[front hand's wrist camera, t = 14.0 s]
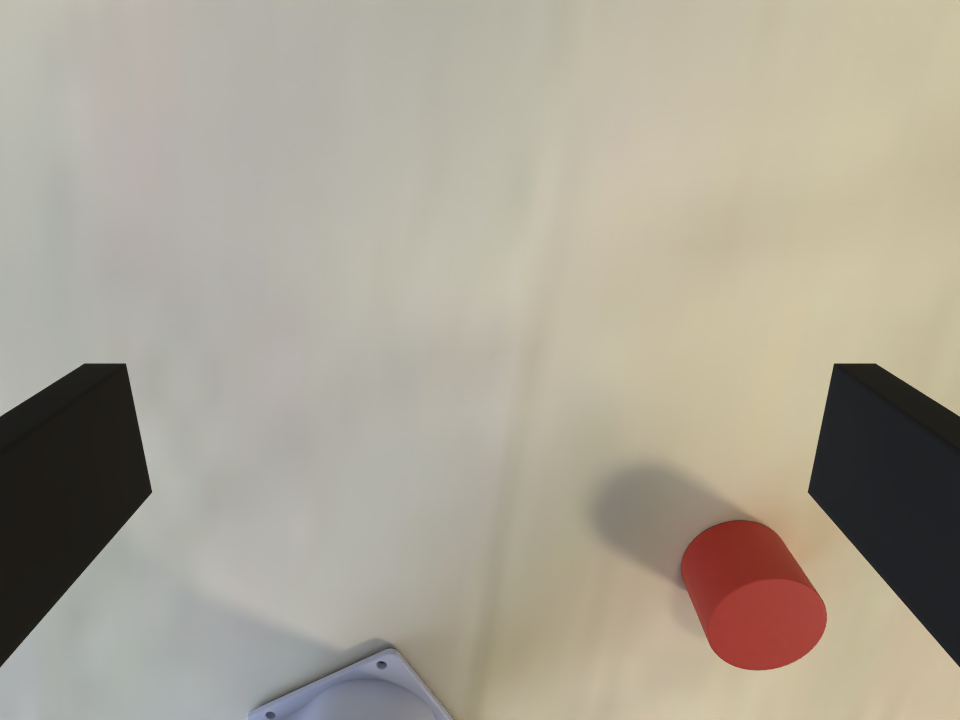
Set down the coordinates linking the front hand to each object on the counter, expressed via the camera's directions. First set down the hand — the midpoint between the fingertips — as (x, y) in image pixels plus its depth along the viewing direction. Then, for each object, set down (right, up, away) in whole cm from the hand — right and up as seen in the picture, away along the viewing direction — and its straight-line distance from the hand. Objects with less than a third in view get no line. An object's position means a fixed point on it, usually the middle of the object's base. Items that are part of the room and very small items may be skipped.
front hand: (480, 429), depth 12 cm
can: (+12, -8, +19) cm, 24 cm away
